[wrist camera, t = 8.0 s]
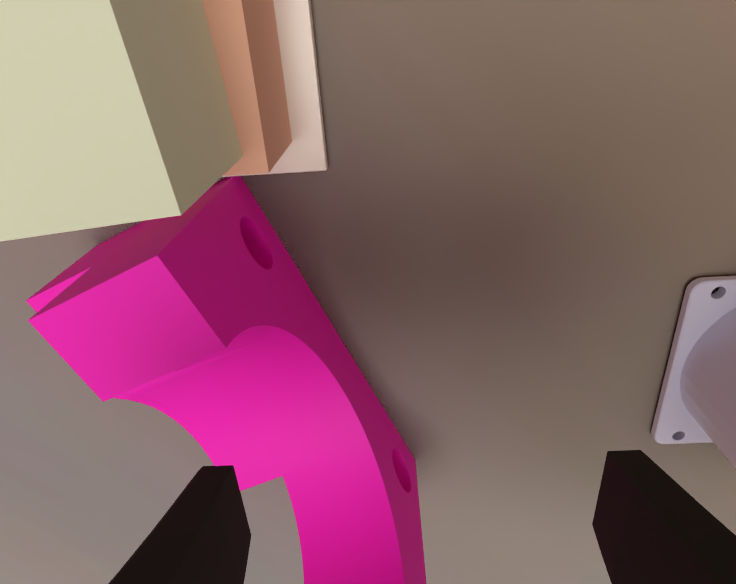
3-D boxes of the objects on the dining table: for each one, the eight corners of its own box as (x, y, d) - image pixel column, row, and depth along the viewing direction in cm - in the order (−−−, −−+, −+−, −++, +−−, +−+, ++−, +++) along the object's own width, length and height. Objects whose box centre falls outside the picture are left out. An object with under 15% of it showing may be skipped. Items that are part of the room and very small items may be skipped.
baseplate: (296, -131, 14) (293, -137, 13) (327, 166, 17) (326, 170, 17) (9, -105, 14) (-5, -110, 14) (100, 180, 18) (91, 185, 17)
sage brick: (243, 156, 13) (181, 214, 9) (73, 182, 13) (-60, 250, 9) (186, -59, 11) (73, -111, 7) (-12, -21, 11) (-233, -48, 7)
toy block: (99, 243, 19) (-50, 359, 12) (239, 170, 18) (157, 255, 11) (299, 497, 25) (271, 665, 19) (414, 456, 24) (429, 622, 17)
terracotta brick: (261, -87, 14) (221, -127, 10) (292, 141, 16) (268, 172, 13) (45, -68, 14) (-68, -99, 10) (111, 153, 17) (39, 188, 13)
